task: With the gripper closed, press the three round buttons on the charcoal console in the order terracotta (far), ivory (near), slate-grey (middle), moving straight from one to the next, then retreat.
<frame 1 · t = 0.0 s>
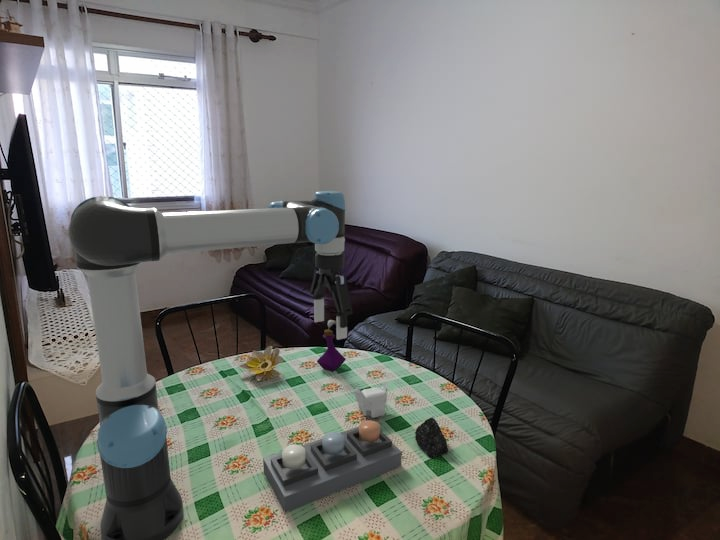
hand: (329, 329, 119), 28 cm above the table, fingers open, 13 cm apart
decorative flower: (261, 374, 153), on the table
perfume bottle: (331, 369, 157), on the table
rock: (432, 445, 117), on the table
terracotta button: (369, 431, 110), point 7 cm above the table, slide at 0.0 cm
ivory button: (293, 456, 100), point 7 cm above the table, slide at 0.0 cm
slate button: (333, 443, 105), point 7 cm above the table, slide at 0.0 cm
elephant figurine: (372, 413, 131), on the table
console: (333, 469, 107), on the table
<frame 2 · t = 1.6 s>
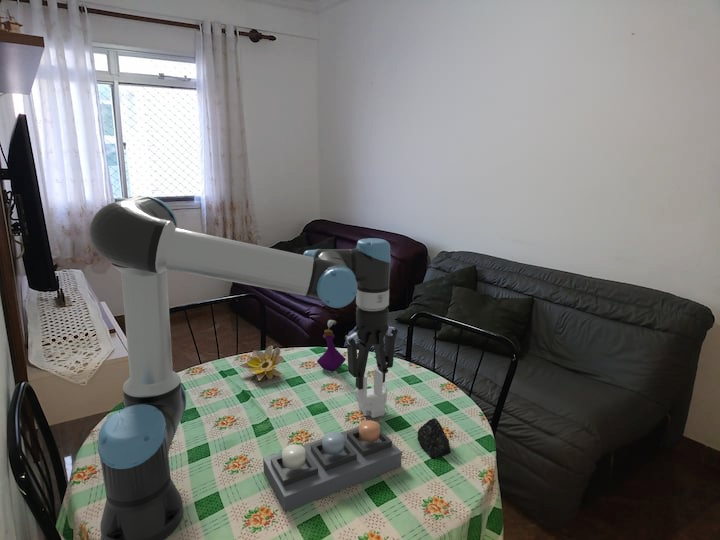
hand: (370, 397, 108), 17 cm above the table, fingers open, 4 cm apart
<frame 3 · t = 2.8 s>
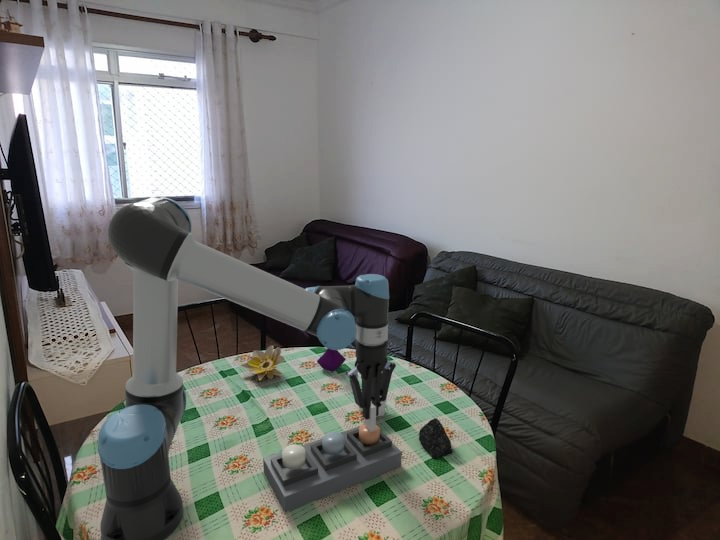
hand: (370, 428, 110), 8 cm above the table, fingers closed
terracotta button: (369, 433, 110), point 6 cm above the table, slide at 0.8 cm, touching gripper
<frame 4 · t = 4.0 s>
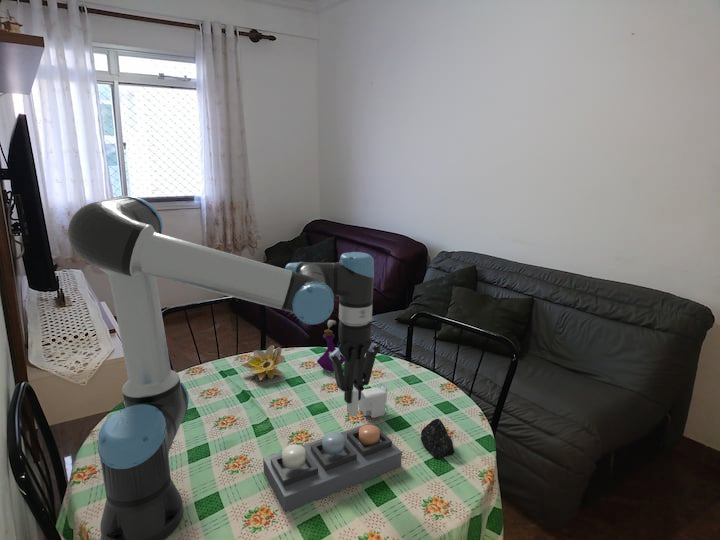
hand: (352, 413, 106), 14 cm above the table, fingers closed
terracotta button: (369, 435, 110), point 6 cm above the table, slide at 1.2 cm
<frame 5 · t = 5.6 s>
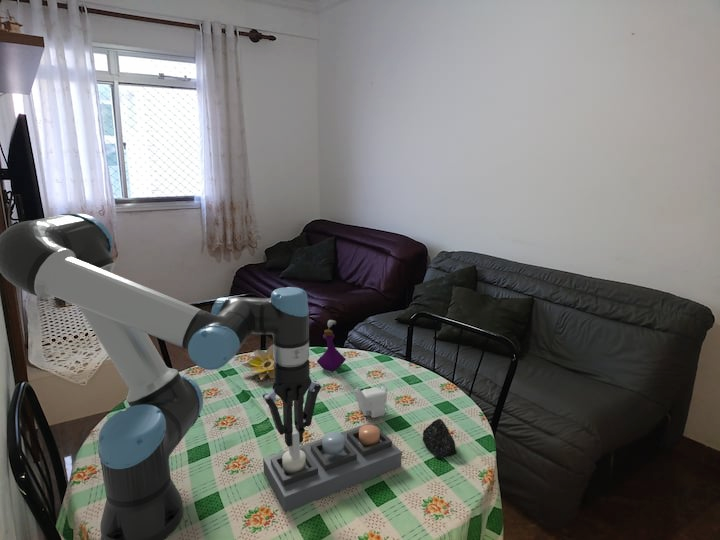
hand: (294, 455, 100), 8 cm above the table, fingers closed
ivory button: (294, 461, 100), point 6 cm above the table, slide at 1.2 cm, touching gripper
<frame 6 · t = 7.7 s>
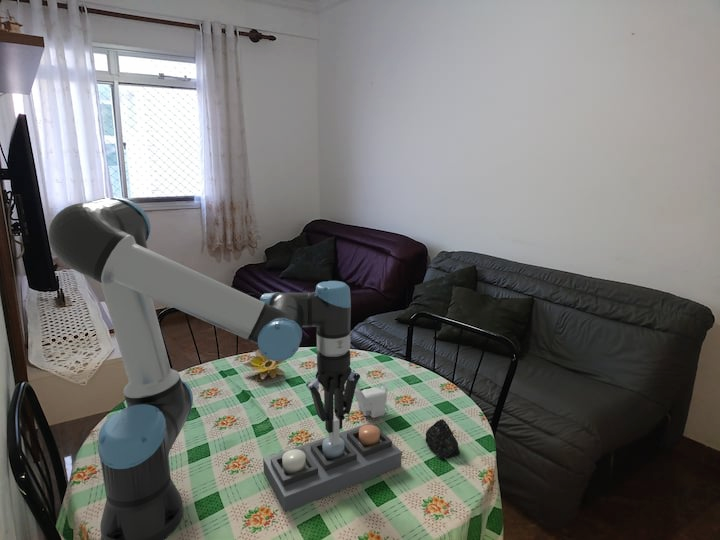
hand: (334, 441, 105), 8 cm above the table, fingers closed
ivory button: (294, 461, 100), point 6 cm above the table, slide at 1.3 cm
slate button: (333, 447, 105), point 6 cm above the table, slide at 1.1 cm, touching gripper
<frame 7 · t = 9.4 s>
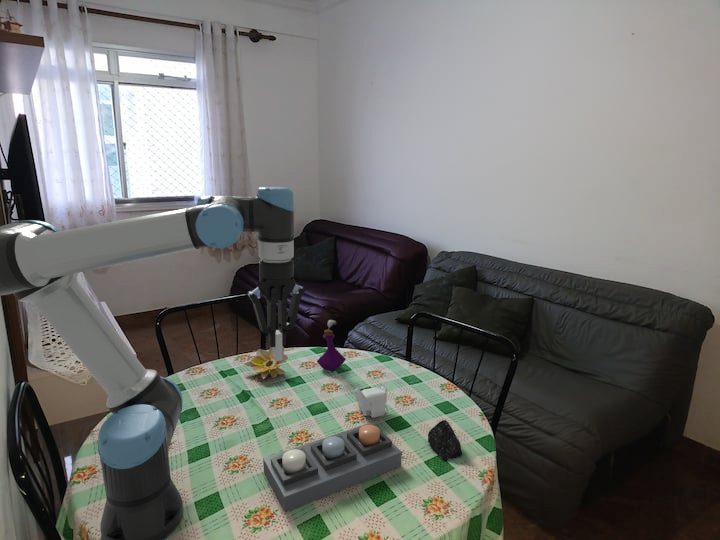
hand: (277, 358, 102), 28 cm above the table, fingers closed
slate button: (333, 447, 105), point 6 cm above the table, slide at 1.3 cm
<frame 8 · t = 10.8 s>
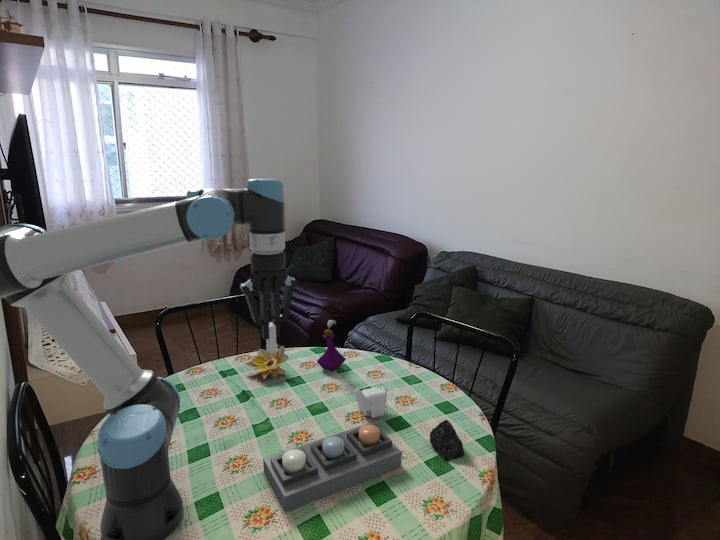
hand: (271, 350, 102), 29 cm above the table, fingers closed
at the end: terracotta button slide at 1.2 cm; ivory button slide at 1.3 cm; slate button slide at 1.3 cm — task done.
